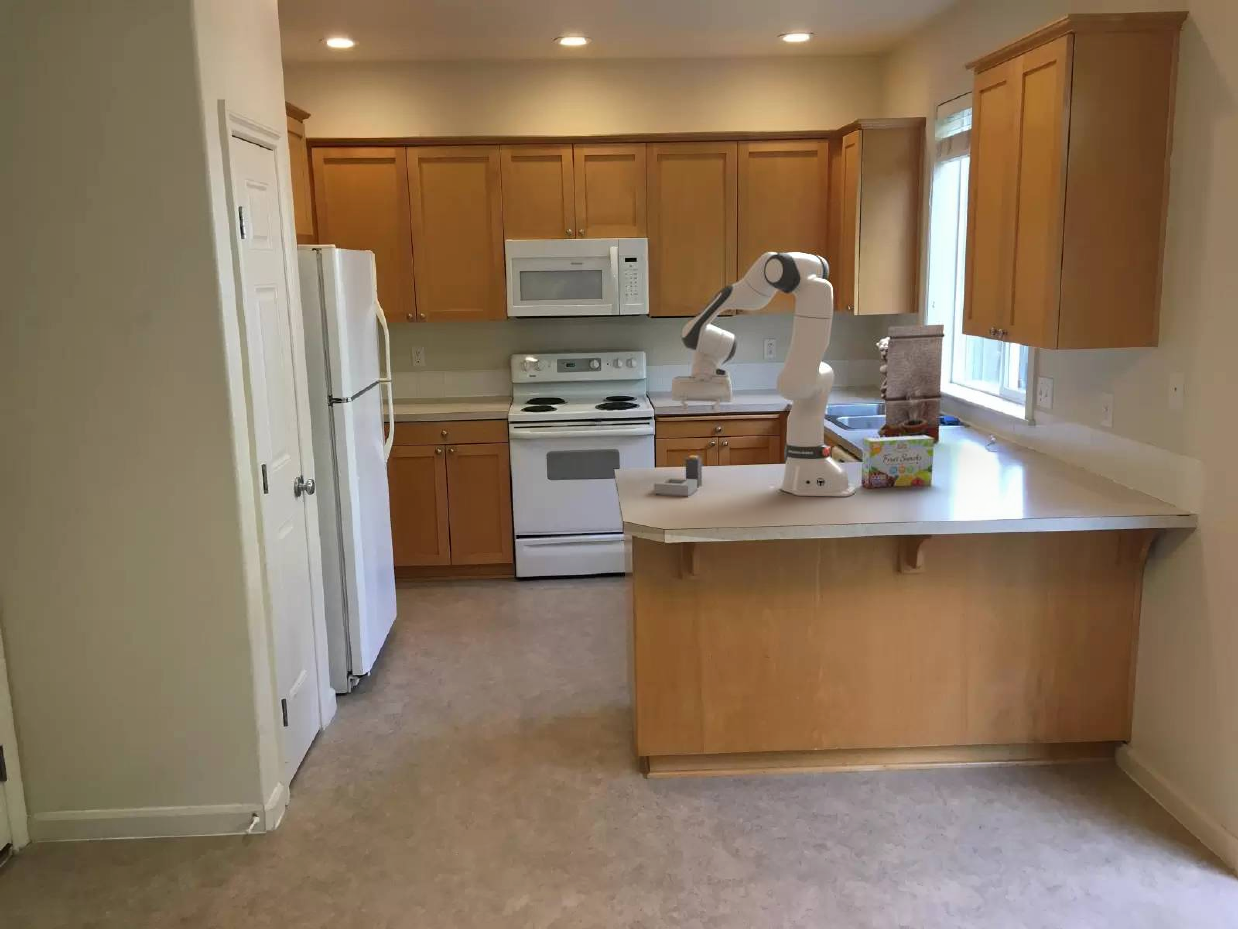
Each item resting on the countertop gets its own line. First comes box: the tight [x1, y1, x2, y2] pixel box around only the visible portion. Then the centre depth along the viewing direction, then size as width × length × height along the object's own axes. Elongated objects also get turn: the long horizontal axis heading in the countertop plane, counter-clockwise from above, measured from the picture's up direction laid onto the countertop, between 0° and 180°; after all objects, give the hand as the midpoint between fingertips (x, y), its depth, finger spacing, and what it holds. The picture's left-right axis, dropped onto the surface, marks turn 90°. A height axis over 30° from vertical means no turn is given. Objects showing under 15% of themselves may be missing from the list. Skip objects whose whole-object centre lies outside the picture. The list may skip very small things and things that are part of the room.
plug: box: [685, 455, 703, 489], centre depth 298 cm, size 4×4×10 cm
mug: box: [885, 419, 927, 437], centre depth 324 cm, size 18×12×15 cm, turn 118°
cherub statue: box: [876, 324, 945, 443], centre depth 363 cm, size 23×19×45 cm
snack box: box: [860, 435, 935, 489], centre depth 292 cm, size 21×6×15 cm, turn 101°
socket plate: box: [653, 477, 698, 498], centre depth 290 cm, size 11×9×4 cm
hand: (699, 410), depth 306 cm, fingers open, 8 cm apart
